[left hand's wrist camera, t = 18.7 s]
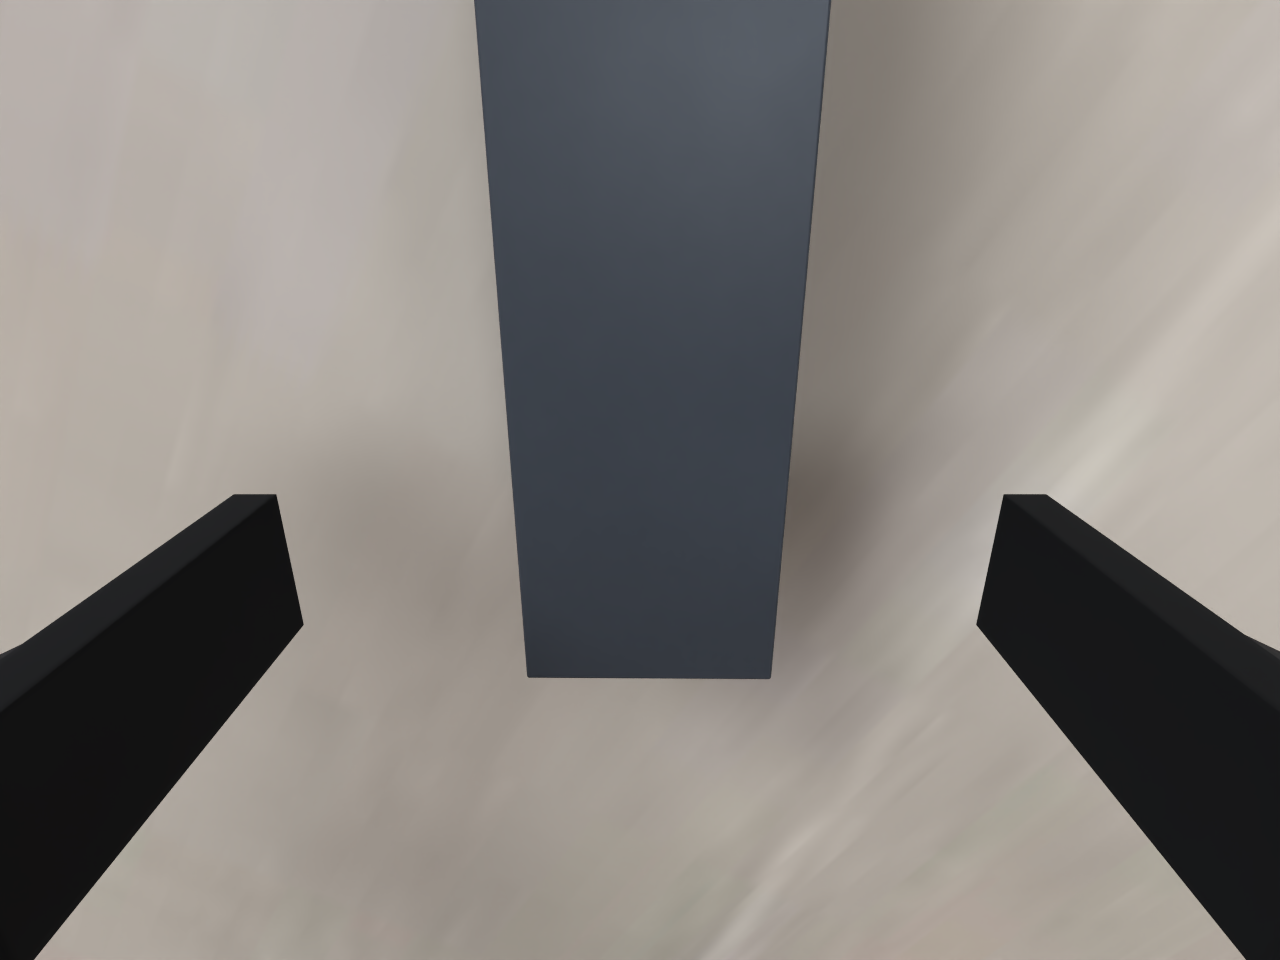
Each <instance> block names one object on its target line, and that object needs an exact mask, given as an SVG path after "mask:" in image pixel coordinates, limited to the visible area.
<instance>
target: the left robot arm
mask: <svg viewBox="0 0 1280 960" xmlns="http://www.w3.org/2000/svg"><path fill="white" fill-rule="evenodd" d="M303 625H304V624H303V619H302V614H301V610H300V605H299V600H298V595H297V591H296V586H295V581H294V576H293V572H292V567H291V562H290V557H289V553H288V548H287V543H286V538H285V534H284V529H283V524H282V519H281V515H280V510H279V505H278V500H277V496H276V494H234V495H232V496H231V497H229V498H228V499H227V500H225V501H224V502H222V503H221V504H220V505H218V506H217V507H215V508H214V509H212V510H211V511H210V512H208V513H207V514H205V515H204V516H203V517H201V518H200V519H198V520H197V521H196V522H194V523H193V524H191V525H190V526H188V527H187V528H186V529H184V530H183V531H181V532H180V533H179V534H177V535H176V536H174V537H173V538H171V539H170V540H169V541H167V542H166V543H164V544H163V545H162V546H160V547H159V548H157V549H156V550H155V551H153V552H152V553H150V554H149V555H147V556H146V557H145V558H143V559H142V560H140V561H139V562H138V563H136V564H135V565H133V566H132V567H130V568H129V569H128V570H126V571H125V572H123V573H122V574H121V575H119V576H118V577H116V578H115V579H114V580H112V581H111V582H109V583H108V584H106V585H105V586H104V587H102V588H101V589H99V590H98V591H97V592H95V593H94V594H92V595H91V596H89V597H88V598H87V599H85V600H84V601H82V602H81V603H80V604H78V605H77V606H75V607H74V608H73V609H71V610H70V611H68V612H67V613H65V614H64V615H63V616H61V617H60V618H58V619H57V620H56V621H54V622H53V623H51V624H50V625H48V626H47V627H46V628H44V629H43V630H41V631H40V632H39V633H37V634H36V635H34V636H33V637H32V638H30V639H29V640H27V641H26V642H24V643H23V644H21V645H19V646H17V647H15V648H13V649H11V650H9V651H7V652H5V653H2V654H0V960H34V959H35V958H36V956H37V955H38V954H39V953H40V952H41V950H42V949H43V948H44V947H45V945H46V944H47V943H48V942H49V940H50V939H51V938H52V937H53V935H54V934H55V933H56V932H57V930H58V929H59V928H60V927H61V925H62V924H63V923H64V922H65V920H66V919H67V918H68V917H69V915H70V914H71V913H72V912H73V911H74V909H75V908H76V907H77V906H78V904H79V903H80V902H81V901H82V899H83V898H84V897H85V896H86V894H87V893H88V892H89V891H90V889H91V888H92V887H93V886H94V884H95V883H96V882H97V881H98V879H99V878H100V877H101V876H102V875H103V873H104V872H105V871H106V870H107V868H108V867H109V866H110V865H111V863H112V862H113V861H114V860H115V858H116V857H117V856H118V855H119V853H120V852H121V851H122V850H123V848H124V847H125V846H126V845H127V843H128V842H129V841H130V840H131V839H132V837H133V836H134V835H135V834H136V832H137V831H138V830H139V829H140V827H141V826H142V825H143V824H144V822H145V821H146V820H147V819H148V817H149V816H150V815H151V814H152V812H153V811H154V810H155V809H156V807H157V806H158V805H159V804H160V802H161V801H162V800H163V799H164V798H165V796H166V795H167V794H168V793H169V791H170V790H171V789H172V788H173V786H174V785H175V784H176V783H177V781H178V780H179V779H180V778H181V776H182V775H183V774H184V773H185V771H186V770H187V769H188V768H189V766H190V765H191V764H192V763H193V762H194V760H195V759H196V758H197V757H198V755H199V754H200V753H201V752H202V750H203V749H204V748H205V747H206V745H207V744H208V743H209V742H210V740H211V739H212V738H213V737H214V735H215V734H216V733H217V732H218V730H219V729H220V728H221V727H222V726H223V724H224V723H225V722H226V721H227V719H228V718H229V717H230V716H231V714H232V713H233V712H234V711H235V709H236V708H237V707H238V706H239V704H240V703H241V702H242V701H243V699H244V698H245V697H246V696H247V694H248V693H249V692H250V691H251V689H252V688H253V687H254V686H255V685H256V683H257V682H258V681H259V680H260V678H261V677H262V676H263V675H264V673H265V672H266V671H267V670H268V668H269V667H270V666H271V665H272V663H273V662H274V661H275V660H276V658H277V657H278V656H279V655H280V653H281V652H282V651H283V650H284V649H285V647H286V646H287V645H288V644H289V642H290V641H291V640H292V639H293V637H294V636H295V635H296V634H297V632H298V631H299V630H300V629H301V627H302V626H303ZM976 625H977V626H978V627H979V629H980V630H981V631H982V632H983V634H984V635H985V636H986V637H987V639H988V640H989V641H990V642H991V644H992V645H993V646H994V647H995V649H996V650H997V651H998V652H999V653H1000V655H1001V656H1002V657H1003V658H1004V660H1005V661H1006V662H1007V663H1008V665H1009V666H1010V667H1011V668H1012V670H1013V671H1014V672H1015V673H1016V675H1017V676H1018V677H1019V678H1020V680H1021V681H1022V682H1023V683H1024V685H1025V686H1026V687H1027V688H1028V690H1029V691H1030V692H1031V693H1032V694H1033V696H1034V697H1035V698H1036V699H1037V701H1038V702H1039V703H1040V704H1041V706H1042V707H1043V708H1044V709H1045V711H1046V712H1047V713H1048V714H1049V716H1050V717H1051V718H1052V719H1053V721H1054V722H1055V723H1056V724H1057V726H1058V727H1059V728H1060V729H1061V730H1062V732H1063V733H1064V734H1065V735H1066V737H1067V738H1068V739H1069V740H1070V742H1071V743H1072V744H1073V745H1074V747H1075V748H1076V749H1077V750H1078V752H1079V753H1080V754H1081V755H1082V757H1083V758H1084V759H1085V760H1086V762H1087V763H1088V764H1089V765H1090V766H1091V768H1092V769H1093V770H1094V771H1095V773H1096V774H1097V775H1098V776H1099V778H1100V779H1101V780H1102V781H1103V783H1104V784H1105V785H1106V786H1107V788H1108V789H1109V790H1110V791H1111V793H1112V794H1113V795H1114V796H1115V798H1116V799H1117V800H1118V801H1119V802H1120V804H1121V805H1122V806H1123V807H1124V809H1125V810H1126V811H1127V812H1128V814H1129V815H1130V816H1131V817H1132V819H1133V820H1134V821H1135V822H1136V824H1137V825H1138V826H1139V827H1140V829H1141V830H1142V831H1143V832H1144V834H1145V835H1146V836H1147V837H1148V839H1149V840H1150V841H1151V842H1152V843H1153V845H1154V846H1155V847H1156V848H1157V850H1158V851H1159V852H1160V853H1161V855H1162V856H1163V857H1164V858H1165V860H1166V861H1167V862H1168V863H1169V865H1170V866H1171V867H1172V868H1173V870H1174V871H1175V872H1176V873H1177V875H1178V876H1179V877H1180V878H1181V879H1182V881H1183V882H1184V883H1185V884H1186V886H1187V887H1188V888H1189V889H1190V891H1191V892H1192V893H1193V894H1194V896H1195V897H1196V898H1197V899H1198V901H1199V902H1200V903H1201V904H1202V906H1203V907H1204V908H1205V909H1206V911H1207V912H1208V913H1209V914H1210V915H1211V917H1212V918H1213V919H1214V920H1215V922H1216V923H1217V924H1218V925H1219V927H1220V928H1221V929H1222V930H1223V932H1224V933H1225V934H1226V935H1227V937H1228V938H1229V939H1230V940H1231V942H1232V943H1233V944H1234V945H1235V947H1236V948H1237V949H1238V950H1239V952H1240V953H1241V954H1242V955H1243V956H1244V958H1245V959H1246V960H1280V651H1278V650H1276V649H1274V648H1271V647H1269V646H1267V645H1265V644H1263V643H1261V642H1259V641H1257V640H1255V639H1252V638H1250V637H1248V636H1246V635H1244V634H1243V633H1241V632H1240V631H1239V630H1237V629H1236V628H1234V627H1233V626H1232V625H1230V624H1229V623H1227V622H1226V621H1224V620H1223V619H1222V618H1220V617H1219V616H1217V615H1216V614H1215V613H1213V612H1212V611H1210V610H1209V609H1207V608H1206V607H1205V606H1203V605H1202V604H1200V603H1199V602H1198V601H1196V600H1195V599H1193V598H1192V597H1191V596H1189V595H1188V594H1186V593H1185V592H1183V591H1182V590H1181V589H1179V588H1178V587H1176V586H1175V585H1174V584H1172V583H1171V582H1169V581H1168V580H1166V579H1165V578H1164V577H1162V576H1161V575H1159V574H1158V573H1157V572H1155V571H1154V570H1152V569H1151V568H1150V567H1148V566H1147V565H1145V564H1144V563H1142V562H1141V561H1140V560H1138V559H1137V558H1135V557H1134V556H1133V555H1131V554H1130V553H1128V552H1127V551H1125V550H1124V549H1123V548H1121V547H1120V546H1118V545H1117V544H1116V543H1114V542H1113V541H1111V540H1110V539H1109V538H1107V537H1106V536H1104V535H1103V534H1101V533H1100V532H1099V531H1097V530H1096V529H1094V528H1093V527H1092V526H1090V525H1089V524H1087V523H1086V522H1084V521H1083V520H1082V519H1080V518H1079V517H1077V516H1076V515H1075V514H1073V513H1072V512H1070V511H1069V510H1068V509H1066V508H1065V507H1063V506H1062V505H1060V504H1059V503H1058V502H1056V501H1055V500H1053V499H1052V498H1051V497H1049V496H1048V495H1046V494H1004V496H1003V500H1002V505H1001V510H1000V515H999V519H998V524H997V529H996V534H995V538H994V543H993V548H992V553H991V557H990V562H989V567H988V572H987V576H986V581H985V586H984V591H983V595H982V600H981V605H980V610H979V614H978V619H977V624H976Z"/></svg>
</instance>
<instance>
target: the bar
mask: <svg viewBox="0 0 1280 960" xmlns="http://www.w3.org/2000/svg"><path fill="white" fill-rule="evenodd" d="M474 4H475V17H476V29H477V42H478V55H479V68H480V80H481V93H482V106H483V119H484V131H485V144H486V157H487V170H488V182H489V195H490V208H491V221H492V233H493V246H494V259H495V272H496V284H497V297H498V310H499V323H500V335H501V348H502V361H503V374H504V386H505V399H506V412H507V425H508V437H509V450H510V463H511V476H512V488H513V501H514V514H515V527H516V539H517V552H518V565H519V578H520V590H521V603H522V616H523V629H524V641H525V654H526V667H527V676H528V677H529V678H687V679H770V678H771V671H772V660H773V648H774V637H775V626H776V615H777V603H778V592H779V581H780V570H781V559H782V547H783V536H784V525H785V514H786V502H787V491H788V480H789V469H790V457H791V446H792V435H793V424H794V413H795V401H796V390H797V379H798V368H799V356H800V345H801V334H802V323H803V311H804V300H805V289H806V278H807V266H808V255H809V244H810V233H811V222H812V210H813V199H814V188H815V177H816V165H817V154H818V143H819V132H820V120H821V109H822V98H823V87H824V76H825V64H826V53H827V42H828V31H829V19H830V8H831V0H474Z"/></svg>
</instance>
